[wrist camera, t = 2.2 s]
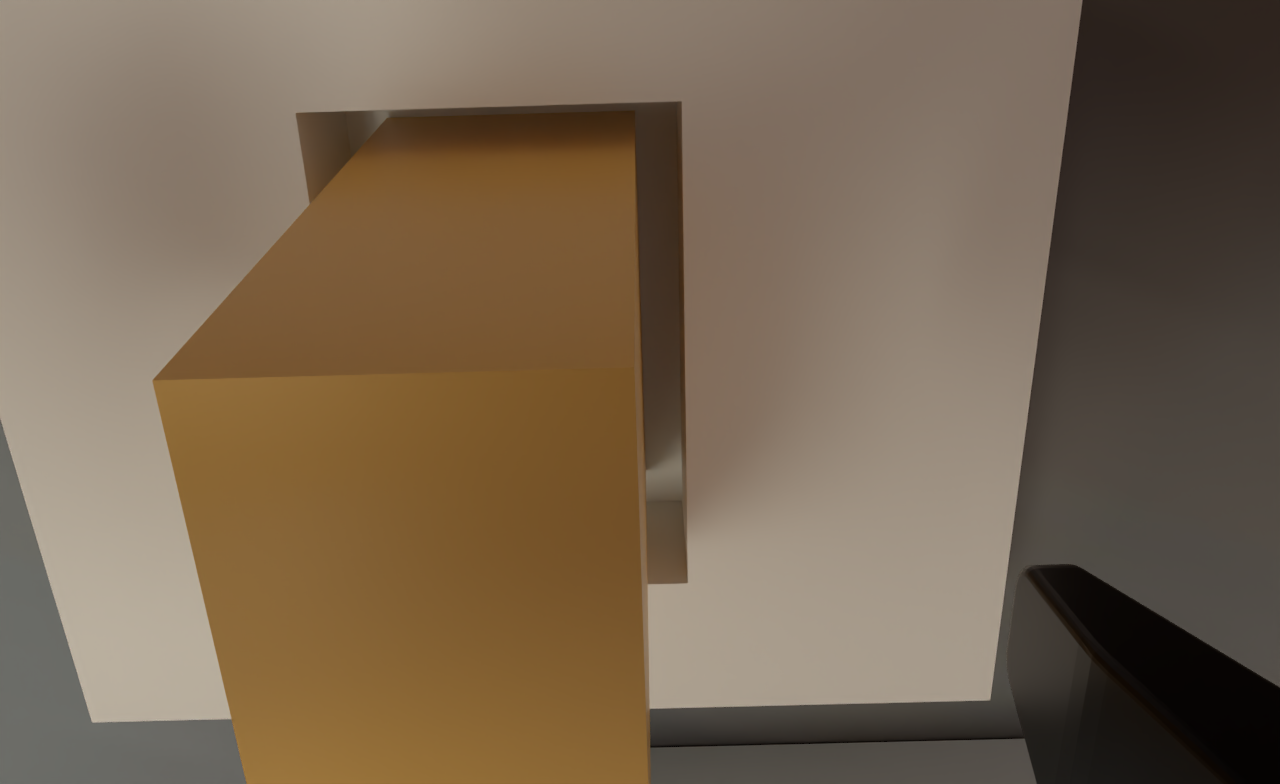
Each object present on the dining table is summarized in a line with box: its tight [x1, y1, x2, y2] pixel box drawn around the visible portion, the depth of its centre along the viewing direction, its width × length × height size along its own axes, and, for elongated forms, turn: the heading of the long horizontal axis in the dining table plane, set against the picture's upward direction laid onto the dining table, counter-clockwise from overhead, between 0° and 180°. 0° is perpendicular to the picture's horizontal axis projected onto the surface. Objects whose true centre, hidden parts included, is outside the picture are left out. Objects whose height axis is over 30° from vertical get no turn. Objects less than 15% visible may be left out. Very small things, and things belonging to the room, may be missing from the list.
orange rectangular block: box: [152, 110, 651, 784], centre depth 12 cm, size 3×5×8 cm, turn 2°
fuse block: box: [0, 0, 1083, 722], centre depth 14 cm, size 12×10×2 cm
